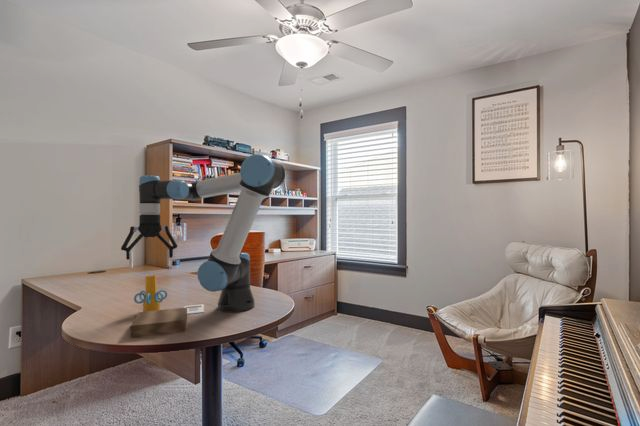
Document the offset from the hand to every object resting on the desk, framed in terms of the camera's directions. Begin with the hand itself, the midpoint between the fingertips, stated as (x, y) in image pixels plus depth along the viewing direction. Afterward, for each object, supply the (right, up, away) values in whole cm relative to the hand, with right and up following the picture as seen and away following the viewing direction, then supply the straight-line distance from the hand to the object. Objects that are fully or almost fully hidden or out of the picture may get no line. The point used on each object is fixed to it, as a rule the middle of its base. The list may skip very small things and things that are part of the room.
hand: (150, 266), depth 134 cm
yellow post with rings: (+1, -19, 0) cm, 19 cm away
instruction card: (+16, -18, +3) cm, 25 cm away
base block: (+13, -18, -18) cm, 29 cm away
